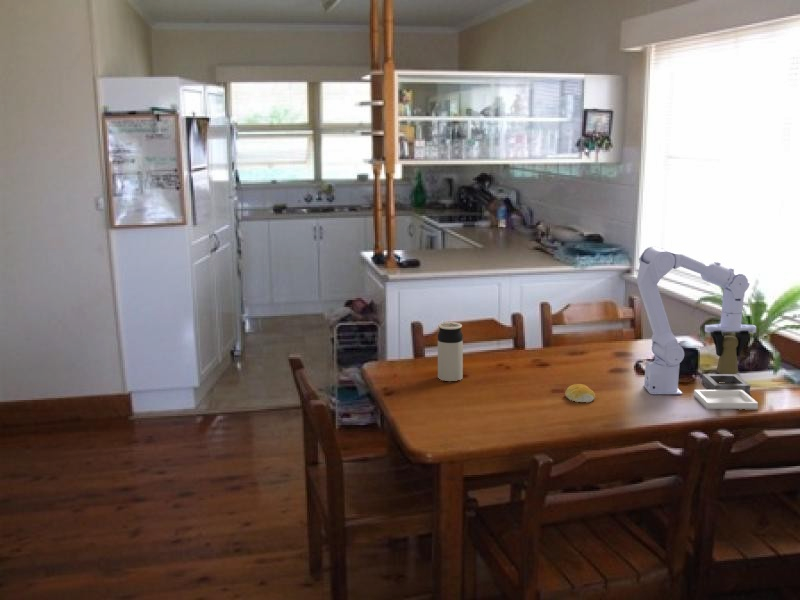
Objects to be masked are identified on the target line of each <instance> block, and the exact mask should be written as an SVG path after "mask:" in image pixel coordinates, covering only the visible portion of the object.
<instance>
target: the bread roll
mask: <svg viewBox="0 0 800 600" xmlns="http://www.w3.org/2000/svg"><path fill="white" fill-rule="evenodd" d="M564 394H565V397H566V398H567V399H568V400H569V401H571V400H572V401H571V402H573V401H575V402H574V403H578V402H586V403H591V402H592V401H594V400H595V398H596V393H595V392H594V391H593V390H592V389H591V388H590V387H589V386H587V385H586V384H582V383H574V384H572V385H569V386H568V387H567V388H566V390H565V393H564Z"/></svg>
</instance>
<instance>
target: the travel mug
mask: <svg viewBox="0 0 800 600" xmlns="http://www.w3.org/2000/svg"><path fill="white" fill-rule="evenodd" d="M462 327H463V324H462V323H459V322H456V321H455V322H454V321H445V322H441V323H439V324H438V328H439V332H438V334H437V379H438V378H439V379H441V380H445V381H457V380H460V381H462V380H463V377H464V376H463V372H464V371H463V370H464V369H463V368H464V365H463V361H464V358H463V357H464V355H463V351H464V350H463V349H464V344H463V343H464V342H463V341H464V334H463V332H462V330H461V329H462ZM439 379H438V380H439ZM461 379H462V380H461ZM441 380H440V381H441Z"/></svg>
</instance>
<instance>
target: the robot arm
mask: <svg viewBox="0 0 800 600" xmlns="http://www.w3.org/2000/svg"><path fill="white" fill-rule="evenodd" d="M638 260H639V261H638V262H639V267H638V271H637V277H636V284H637V287H638V290H639V293H640V296H641V300H642V302H643V305H644V309H645V312H646V316H647V319H648V322H649V325H650V328H651V332H652V336H651V341H652V343H651V352H652V353H653V355H654V358H653V359H654V360H653V361H650V362H649V361H647V362H646V364H645V367H644V383H643V386H644V389H646V390H647V392H648V393H649V394H650V395H682V394H683V392H682V391H681V390H680V389H679V378H680V377H679V375H680V366H681V364H680V363H682V361H683V360H684V357H685V350H684V348H683V347H682V346H681V345H680V344H679V342H678V339H677V338H676V336H675V335H674V334H673V332H672V328H671V326H670V322H669V319H668V315H667V313H666V310H665V305H664V303H663V300H662V296H661V293H660V290H659V287H658V283H659V282H660V281H661V280H662V279H663V277H665V276H667V274H668V273H669V272H671V271H672V269H674V270H677V269H678V268H683V269H686V270H688V271H691V272H694V273H697V274H700V277H701V279H702V280H703V281H706V282H707V283H710V284H713V285H714V286H718V287H720V288H722V289H723V291H722V292H723V293H722V300H721V301H722V303H721V304H722V305H721V315H720V323H715V324H705V325H704V332H705V333H707V334H710V336H711V338H712V340H713V343H714V347H715V354H716V355H717V356H718V357H719V356H721V354H722V344H723V339H724V336H725V335H723V333H735V337H736V338H737V339H738V342H739V343H738V346H737V347H736V353H737V357H740V356H741V353H742V351H743V348H744V346H745V344H747V343H746V342H747V341H748V340H749V339H750V337H751V333H752V334H754V333H755V334H756V333H757V326H756V325H754V324H742V320H743V310H744V299H745V294H746V291H747V290H748V289H749V286H750V283H749V280H748V278H747V276H746V275H745V274H743V273H739V272H737V271H735V269H734V268H731V267H729V268H728V267H725V266H722V265H721V263H720V262H718V261H714V262H707V263H703V262H700V261H698V260H696V259H694V258H691V257H689V256H687V255H684V254H682V253H679V252H676V251H672V250H669V249H665V248H661V249H660V248H659V247H657V246H649V247H647V248H645V250H644V251H643V252H642V253H641V254H640V255H639V257H638Z"/></svg>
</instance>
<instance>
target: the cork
mask: <svg viewBox="0 0 800 600" xmlns="http://www.w3.org/2000/svg"><path fill="white" fill-rule="evenodd" d="M723 336H724V339H723V344H722V354H721V356H718V357H719V358H718V363H717V367H716V372H717V373H719V374H737V375H738V373H739V367H738V356H737V353H736V347H737V346H738V343H739V342H738V339H737V338H736V336H735V335H734V336H733V335H723Z"/></svg>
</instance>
